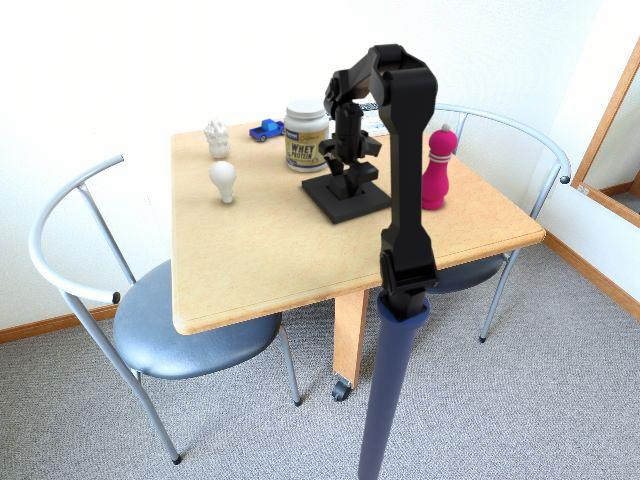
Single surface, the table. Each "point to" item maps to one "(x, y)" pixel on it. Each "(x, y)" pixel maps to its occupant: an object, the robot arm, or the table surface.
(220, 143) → the figurine
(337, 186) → the small pad
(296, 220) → the table surface
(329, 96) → the robot arm
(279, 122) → the toy car
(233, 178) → the lightbulb
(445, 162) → the pepper mill
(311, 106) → the supplement tub
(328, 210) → the socket pad
